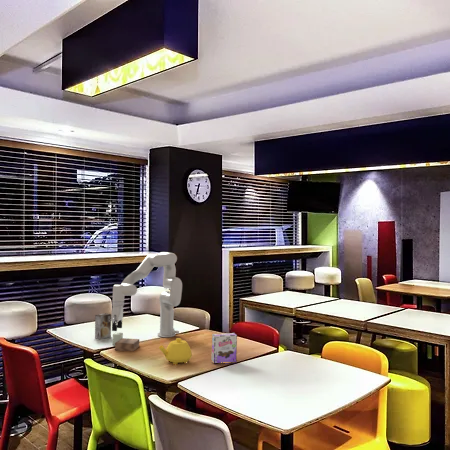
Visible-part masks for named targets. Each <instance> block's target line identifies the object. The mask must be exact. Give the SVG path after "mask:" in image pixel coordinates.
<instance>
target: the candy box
mask: <svg viewBox="0 0 450 450" xmlns="http://www.w3.org/2000/svg"><path fill="white" fill-rule="evenodd" d="M211 336H212V337H211V359H210V360H212V361H213V362H214V363H221V362H222V363H223V362H236V363H237V355H238V354H237V353H238V351H237V346H238V344H237V343H238V335H237V334H236V333H235V332H232V333H230V332H229V333H212V334H211ZM212 361H211V362H212ZM213 362H212V363H213Z"/></svg>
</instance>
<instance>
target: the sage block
mask: <svg viewBox="0 0 450 450" xmlns="http://www.w3.org/2000/svg"><path fill="white" fill-rule="evenodd" d="M123 336H124V334H123V332H117V331H114V332H113V334H112V346H115V343H116V342H117V341H118V340H120V339H121V338H123Z"/></svg>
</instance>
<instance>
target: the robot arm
mask: <svg viewBox="0 0 450 450" xmlns="http://www.w3.org/2000/svg"><path fill="white" fill-rule="evenodd" d="M177 260H178V256H177V255H176V254H175V253H174V252H168V251H160V252H159V253H158V254H157V253H155V254H154V253H149V254H148V255H147V256H146V257H144V259H143V260H142V262H141V263H140V264H139V266H138V267H137V268H136V270H134V271H132V272H131V273H129V274H128V275H127V276H126V277H125V278H124V279H123V280H122V282H121V284H114V285H112V286H113V287H112V305H111V306H112V308H111V332H117V331H118V329H122V328H123V319H124V318H123V317H124V306H125V296H127V297H128V296H130V297H131V296H135V295H136V294H137V292H138V289H137V286H136V285H135V283H136V282H138V281H140V280H143V279H145V278H147V277H148V276H149V274H150V272H152V270H153V268H154V267H156V268H162V267H163V276H162V277H163V279H162V287H163V288H164V290H165V291H162V292H161V293H160V294H159V299H158V300H159V307H160V311H159V312H160V314H159V315H160V316H159V332H158V333H157V336H158V337H159V338H172V337H175V336H176V334H177V335H179V334H180V331H179V330H175V328H174V317H175V316H174V315H175V314H174V313H175V310H174V309H175V308H174V307H177V306H179V305H180V304H181V300H182V293H183V282H182V280H181V278H179V277H176V274H177V273H176V272H177V269H176V265H175V264H176V262H177Z"/></svg>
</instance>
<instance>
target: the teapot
mask: <svg viewBox="0 0 450 450" xmlns="http://www.w3.org/2000/svg"><path fill="white" fill-rule="evenodd" d="M158 349H159V351H160V352H162V354H163V355H164V357H165V359H166V360H167V361H170V362H169V363H172V365H173V364H179V363H183V362H184V363H186V362H188V361H190V359H191V358H192V356H193V355H192V353H193V351H192V349H191V347H190V345H189V343H188V342H187V341H186V340H184V339H182V338H179V337H177V338H175V340H171V341H170V342H169V343H168V345H167V347H166V348H165V347H164V345H160V346H159V347H158ZM184 363H183V364H184Z"/></svg>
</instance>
